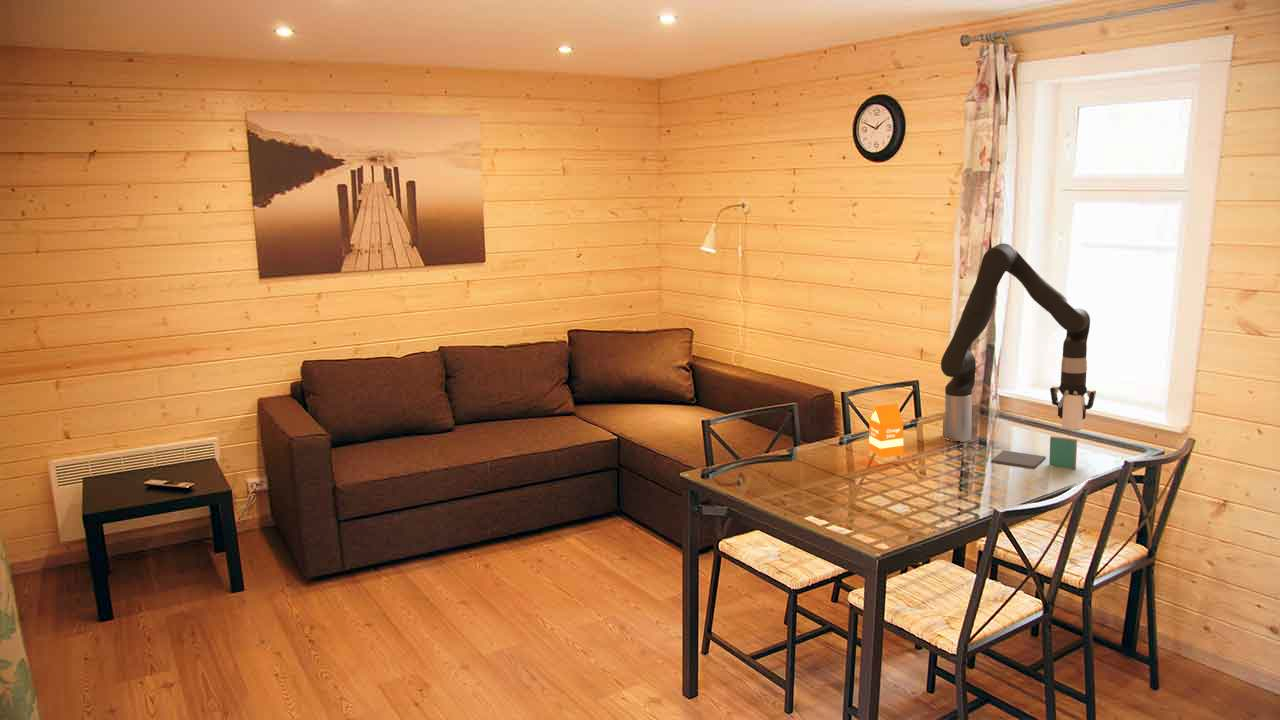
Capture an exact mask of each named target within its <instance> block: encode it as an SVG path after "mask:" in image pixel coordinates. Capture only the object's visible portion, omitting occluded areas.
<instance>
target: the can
mask: <svg viewBox="0 0 1280 720" xmlns="http://www.w3.org/2000/svg"><path fill="white" fill-rule="evenodd" d="M1084 395H1085V394H1084ZM1084 395H1083V396H1081V395H1071V394H1067V395H1066V396H1065V397H1064V402H1063V414H1062V418H1061V419H1062V420H1061V427H1062V428H1063V429H1065V430H1067V431H1068V430H1069V431H1080V430H1082V429H1084V421H1085V419H1083V410H1082V403H1083V404H1084V405H1085V404H1086V401H1085V400H1086V397H1085V396H1084ZM1081 402H1082V403H1081Z"/></svg>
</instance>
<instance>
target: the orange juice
mask: <svg viewBox="0 0 1280 720" xmlns="http://www.w3.org/2000/svg"><path fill="white" fill-rule="evenodd" d="M868 425H869V439H868V440H869V452H870V451H872V452H873V453H875V454H876V455H878V456H879V457H880V458H881V457H890V456H903V457H904V420H903V417H902V415H901V411H900V408H899V405H898V403H891V404H884V405H883V404H882V405H875V406H874V408H873V409H872V412H871V414H870V417H869V423H868Z"/></svg>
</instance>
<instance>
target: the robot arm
mask: <svg viewBox="0 0 1280 720" xmlns="http://www.w3.org/2000/svg"><path fill="white" fill-rule="evenodd" d="M979 266H980V267H979V270H978V273H977V278H976V281H975V283H974V285H973V287H972V289H971V292H970V293H969V297H968V299H967V301H966V303H965V305H964V308H963V311H962V312H961V313H962V314H961V316H960V319H959V321H958V324H957V325H956V327H955V331H954V333H953V336H952V338H951V341H950V342H949V344H948V346H947V347H946V349H945V352H944V353H943V355H942V357H941V361H940V367H941V372H942V373H943V374H944V375H945V376H946V377H949V378H951V380H950V381H949V382H948V383H947V384H946V386H945V387H944V389H945V390H944V394H945V396H944V398H945V399H944V401H945V402H944V413H943V414H942V438H943V437H944V438H947V439H949V440H952V441H951V442H953V441H960V442H959V443H965V442H969V441H971V440H972V422H973V421H972V415H973V413H972V412H973V410H972V409H973V401H972V400H973V389H974V388H975V383H976V368H977V365H976V364H977V362H976V358H975V355H974V354H973V353H972V351H971V350H969V348H970V347H971V346H972V344H973V343H974V342H975V341H976V339H977V338H979V336H980V335H981V334H982V333H983V332H984V330H985V329H986V327H987V326H988V325H989V322H990V320H991V317H992V315H993V312H994V309H995V304H996V303H995V302H996V291H997V288H998V287H999V284H1000V283H1001V279H1002V278H1003V276H1004V274H1005V272H1007V273H1008V274H1011V275H1012V276H1014V277H1015V278H1016V279H1017V280H1018V281H1019V282H1020V283H1021V285H1022V286H1023V287H1024V289H1025V290H1026V292H1027V293H1028V294H1029V296H1030V298H1032V300H1033V301H1034V302H1035V303H1037V304H1038V305H1039V306H1040V307H1042V309H1043V310H1045V311H1046V312H1047V313H1049V314H1050V316H1051V317H1052V318H1053V319H1054V320H1055V322H1057V324H1059V326H1060V327H1061V328H1062V329H1064V330H1065V331H1066V335H1065V339H1064V341H1063V344H1062V345H1063V346H1062V359H1061V364H1060V365H1061V366H1060V367H1061V369H1060V372H1061V373H1060V385H1059V386H1055V385H1053V386H1052V387H1051V388H1049V390H1050V391H1049V392H1050V398H1051V403H1052V405H1053V406H1056V407H1057V416H1058V417H1059V419H1062V414H1063V402H1064V397H1065V396H1066V395H1067V394H1071V395H1081V396H1083V395H1086V394H1087V397H1088V400H1087V404H1086V403H1085V405H1084V404H1083V403H1082V402H1081V403H1082V410H1083V419H1084V420H1085V419H1086V415H1087V410H1091V408H1093V406H1094V403H1095V397H1096V394H1097V391H1096V390H1095V389H1094V390H1090V389H1088V387H1087V370H1088V361H1087V351H1088V350H1087V349H1088V347H1087V346H1088V344H1087V343H1088V338H1089V332H1090V328H1091V327H1090V325H1091V317H1090V314H1089V313H1088V311H1087V310H1085V309H1083V308H1074V307H1073V306H1072V305H1071V304H1070V303H1068V300H1067V298H1066V296H1065V295H1063V294H1062V293H1061V292H1060V291H1058V290H1057V289H1056V288H1055V287H1054V286H1053V285H1051V284H1050V283H1049V282H1047V280H1045V278H1043V277H1042V276H1041V275H1040V274H1039V273H1038V272H1037V271H1036V270H1035V269H1034V268H1033V267H1032V266H1031V264H1029V263H1028V262H1027V261H1026V259H1025V258H1023V256H1022V254H1020V253H1019V252H1018V250H1016V248H1015V247H1013V246H1012V245H1011V244H1009V243H999V244H996V245H995V246H993V247H992V246H991V247H990V248H989V249H987V251H986V252H985V253H984V254H983V256H982V259H981V262H980V265H979ZM1059 392H1060V393H1061V395H1062V396H1061V398H1060V401H1059V399H1058V393H1059ZM949 440H948V441H949Z"/></svg>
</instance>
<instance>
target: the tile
mask: <svg viewBox="0 0 1280 720" xmlns="http://www.w3.org/2000/svg"><path fill="white" fill-rule="evenodd" d="M1077 457H1078V439H1076V438H1069V437H1068V438H1067V437H1061V436H1054V435H1051V436H1050V437H1049V462H1048V463H1049V464H1048V466H1049V467H1056V468H1062V469H1068V470H1077V460H1078V459H1077Z"/></svg>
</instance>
